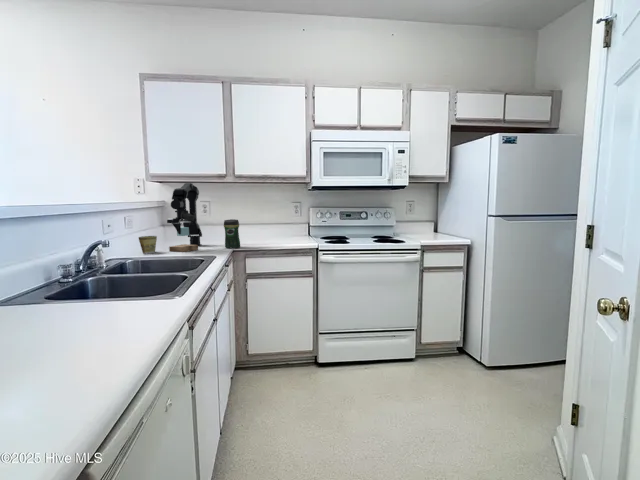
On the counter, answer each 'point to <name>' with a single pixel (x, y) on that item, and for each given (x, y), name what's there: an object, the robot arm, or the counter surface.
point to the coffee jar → (231, 233)
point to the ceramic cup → (148, 244)
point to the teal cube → (184, 231)
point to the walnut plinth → (183, 248)
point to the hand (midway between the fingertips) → (183, 233)
